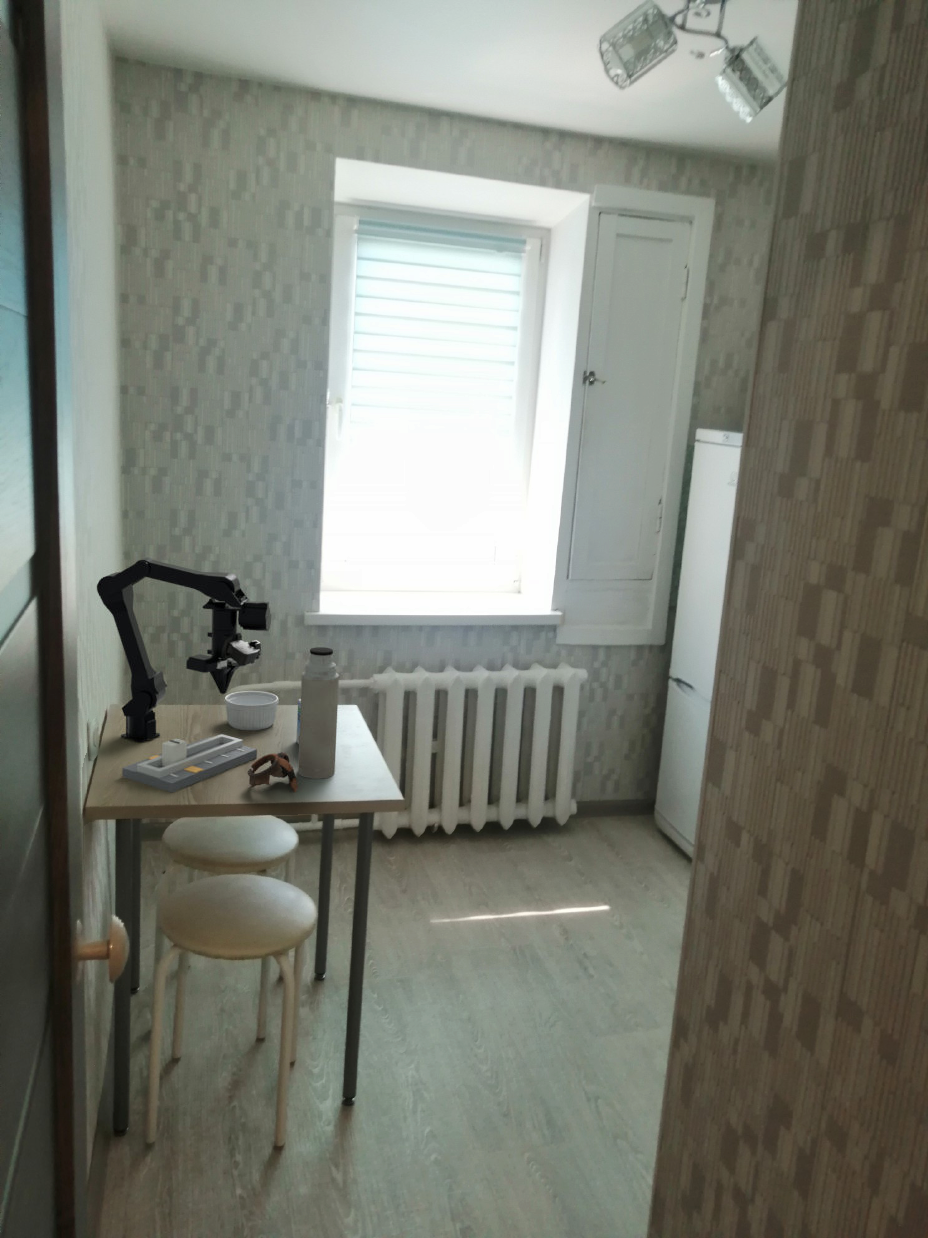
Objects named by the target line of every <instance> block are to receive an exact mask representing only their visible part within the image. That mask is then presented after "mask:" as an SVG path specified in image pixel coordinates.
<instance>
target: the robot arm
mask: <svg viewBox="0 0 928 1238" xmlns="http://www.w3.org/2000/svg"><path fill="white" fill-rule="evenodd" d="M145 578H149V579H152V580H156V581H160V582H165V583H169V584H172V585H173V584H174V585H177V586H181V587H185V588H190V589H194V590H195V591H197V592H200V594H203V595H204V596H206V597H208V598H209V599H208V601H207V602H206V603H205V604H204V605H202V609H204V610H211V630H210V631H208V632H207V637H209V638H210V639H211V641H210V642H211V644H210V647H211V648H208V649H207V650H206V653H207V655H204V654H202V653H200V654H195V655H191V656H189V657H188V658H187V659H186V660H185V662H186V668H185V669H187V670H190V671H194V672H200V673H202V674H203V673H205V674H206V673H209V674H210V675H211V677H212V679H213V681H214V683H215V685H216V688H217V690H218V691H219V694H222V695H225V694H226V693H227V692H228V689H229V686H230V683H231V680H232V678H233V676H234V673H235V672H236V671H237V670H238V669H239V668H241V667H245V666H247V665H250V664H254V663H255V661H256V660H258V659H260V656H261V655H262V654H261V651H262V647H261V646H262V645H261V642H260V641H259V640H257V639H255V640H252V641H244V640H242V639H243V637H242V632H239V631H238V625H239V627H240V628H242V629H243V630H245V631H259V632H270V628H271V625H272V624H271V623H272V613H271V608H270V602H269V601H253V600H250V599H249V598H248V596H247V595H246V593H245V592H244V590H243V589H242V588H241V582H240V580H239V578H238V576H237V575H236V574H233V573H230V572H222V571H200V570H199V571H198V570H195V569H191V568H186V567H184V566H183V567H182V566H180V565H175V564H170V563H167V562H163V561H158V560H155V559H152V558H150V557H145V558H141V559H139V560H137V561H136V562H135V563H134V564H132V565H131V566H128V567H126V569H124V570H122V571H118V572H117V571H115V572H113V573H111V574H109V575H105V576H103V577H101V578H100V579H99V581H98V583H97V584H96V592H97V594H98V596H99V598H100V600H101V602H102V604H103V605H104V607H105V608H106V609H107V610H108V611H109V612H110V614H111V615H112V617H113V620H114V623H115V627H116V630H117V633H118V636H119V639H120V642H121V645H122V648H123V651H124V654H125V658H126V660H127V664H128V667H129V670H130V673H131V674H130V675H131V677H130V691H131V692H130V693H131V699H130V700H129V701H128V702H126V704H125V705H123V706H122V707H121V710H122V714H123V716H124V717H125V733H122V734H120V738H123V739H127V740H130V741H133V742H136V743H142V742H145V741H146V742H147V741H150V740H152V739H155V738H158V737H160V736H161V733H160V732H157V719H156V712H154V709H156V707H157V705H158V704H159V703H160V702H161V701H162V700H164V697H165V695H166V693H167V692H166V691H167V690H166V688H167V687H168V685H167V683H166V682H165V679H164V673H163V671H162V670H160V671H157V672H156V671H155V669H154V668H153V667H152V665H151V662H150V659H149V655H148V653H147V650H146V646H145V644H144V640H143V637H142V634H141V630H140V627H139V623H138V621H137V618H136V613H135V612H134V611H135V610H134V595H135V594H134V587H133V586H134V585H136V584H137V583H139V582H141V581H142V580H144V579H145ZM210 655H211V656H210Z"/></svg>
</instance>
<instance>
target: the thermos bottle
mask: <svg viewBox="0 0 928 1238" xmlns="http://www.w3.org/2000/svg"><path fill="white" fill-rule="evenodd" d="M309 653H310V655H309V661H307V662H306V663H305V664H304V671H303V672H302V673H301V684H300V685H301V686H300V688H301V689H300V690H301V694H300V699H301V707H300V734H299V743H298V763H297V764H298V766H297V769H298V770H297V772H298V774H299V775H300V776H301V777H304V778H307V779H315V780H316V779H326V778H329V777H332V776H334V774H335V772H336V754H337V753H336V749H337V732H338V731H337V729H338V728H337V726H338V708H339V707H338V706H339V704H338V703H339V684H340V681H339V680H340V674H339V673H337V669H338V667H337V664H336V663H335V662H333V654H334V649H332V648H329V647H325V646H324V647H323V646H322V647H321V646H319V647H318V646H317V647H311V648H310V649H309Z"/></svg>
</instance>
